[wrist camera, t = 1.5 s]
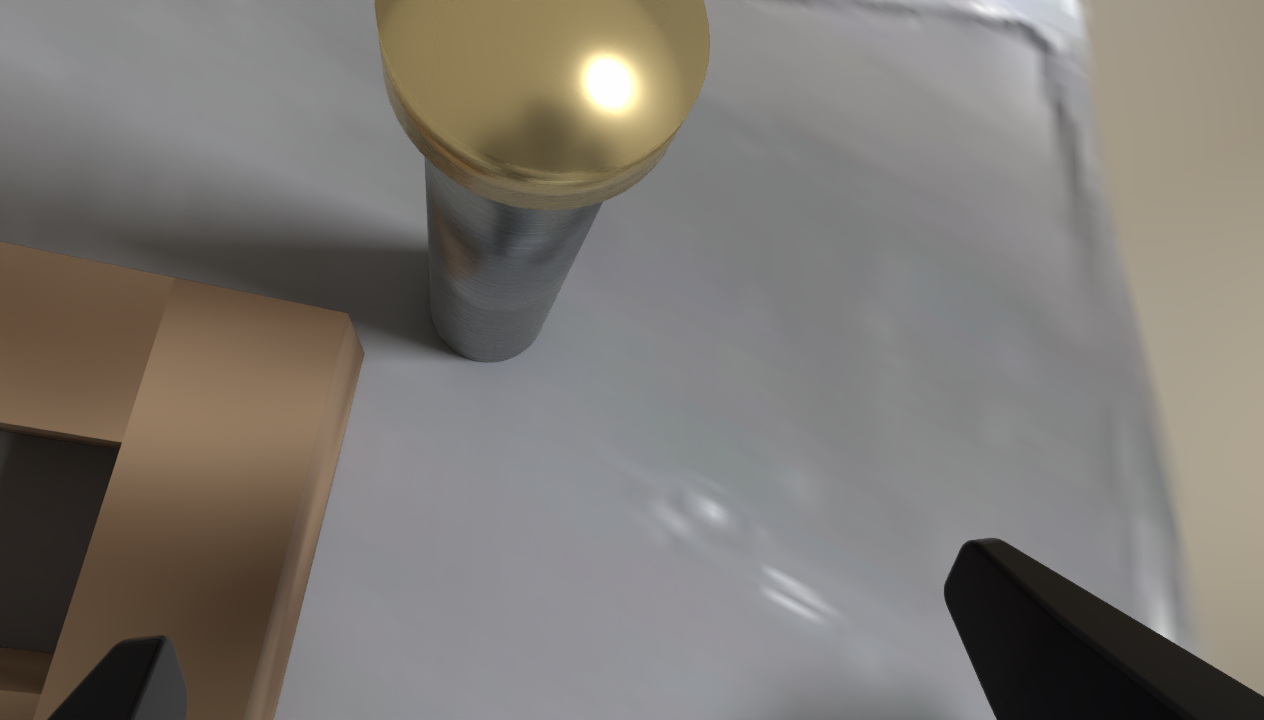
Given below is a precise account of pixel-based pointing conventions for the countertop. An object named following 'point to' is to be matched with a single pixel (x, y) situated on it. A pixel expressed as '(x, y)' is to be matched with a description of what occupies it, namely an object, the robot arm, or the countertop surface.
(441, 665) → the countertop surface
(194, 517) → the socket block
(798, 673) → the countertop surface
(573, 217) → the steel pin
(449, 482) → the countertop surface
